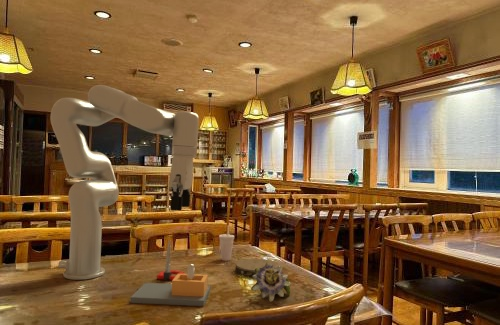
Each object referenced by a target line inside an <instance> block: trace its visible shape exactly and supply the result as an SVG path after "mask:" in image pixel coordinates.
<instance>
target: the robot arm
mask: <svg viewBox="0 0 500 325" xmlns="http://www.w3.org/2000/svg"><path fill="white" fill-rule="evenodd" d="M115 118H118V119H119V120H122V121H123V122H125V123H127V124H128V125H131V126H133V127H136V128H138V129H140V130H142V131H145V132H148V133H150V134H157V135H162V136H166V137H172V143H171V157H172V160H171V166H170V174H169V181H168V187H169V189H170V190H171V197H170V198H171V199H170V210H171V211H178V212H179V211H182V210H183V207H184V208H185V207H186V208H187V207H190V202H191V188H192V185H193V175H194V172H193V171H194V159H196V158H197V155H198V154H197V153H198V152H197V150H198V140H199V124H200V123H199V122H200V117H199V115H198V114H197V113H196V112H191V111H177V112H175V113H173V112H172V111H171V112H170V111H168V110H165V109H161V108H157V107H155V106H152V105H149V104H147V103H144V102H142V101H139V100H138V98H137V97H136V96H134V95H131V94H128V93H126V92H125V91H123V90H120V89H117V88H114V87H112V86H109V85H105V84H97V85H93V86H92V87H90V89H89V90H88V93H87V100H83V99H79V98H75V97H61V98H60V99H58V100H56V102H55V103H54V104H53V106H52V107H51V111H50V124H51V126H52V130H53V133H54V134H55V138H56V140H57V142H58V146H59V150H60V154H61V156H62V160H63V163H64V167H65V170H66V172H67V175H69V177H71V178H75V179H86V180H80V181H77V182H75V183H74V184H73V185H72V186H70V188H69V191H68V203H69V209H70V234H69V235H70V237H69V260H68V261H67V260H59V261H58V263H57V264H58V265H57V268H59V269H65V270H64V271H63V277H64V278H65V279H67V280H71V281H72V280H76V281H77V280H78V281H79V280H81V281H82V280H83V281H84V280H90V279H95V278H99V277H101V276H103V275H104V274H105V272H106V270H105V268H104V267H102V266H101V256H102V255H101V253H102V228H103V225H102V224H103V221H102V215H101V213H100V210H99V208H103V207H108V206H110V207H111V205H114V204H115V203H116V202H117V200H118V199H119V194H120V193H119V192H120V191H119V185H118V182H117V179H116V175H115V172H114V170H113V169H114V168H113V166H112V165H113V164H112V162H111V160H110V159H109V157H108V156H107V155H106V154H104V153H102V152H100V151H92V150H90V148H89V146H88V142H87V139H86V136H85V135H84V133H83V132H82V131H81V129H80V128H79V126H78V125H82V126H89V127H100V126H101V125H103V124H106V123H107V122H109V121H111V120H113V119H115Z"/></svg>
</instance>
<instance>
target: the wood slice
mask: <svg viewBox="0 0 500 325" xmlns="http://www.w3.org/2000/svg"><path fill="white" fill-rule="evenodd" d="M267 261H268V262H270V264H271V265H273V267H272V268H274V267H275V268H277V267H280V264H279V262H276V261H274V260H270V259H266V258H265V259H264V258H244V259H240V260H238V261H236V262H235V273H236V274H237V275H238V276H241V277H245V278H250V279H254V278H253V277H252V276H253V275H254V274H253V272H252V269H253V271H255V268H258V269H260V268H263V267H264V266H265V265H266V262H267ZM257 272H258V271H257ZM255 274H256V272H255Z"/></svg>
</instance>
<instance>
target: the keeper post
mask: <svg viewBox="0 0 500 325" xmlns="http://www.w3.org/2000/svg"><path fill="white" fill-rule="evenodd" d="M186 268H187V271H186V272H187V273H186V274H187V280H194V274H195V265H194V264H193V263H189V264H187V267H186Z"/></svg>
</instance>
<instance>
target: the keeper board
mask: <svg viewBox="0 0 500 325" xmlns="http://www.w3.org/2000/svg"><path fill="white" fill-rule="evenodd" d="M210 293H211V285H208V286H207V290H206V293H205V295H204V297H202V296H180V295H172V283H157V282H145V283H144V284H142V285H141V286H140V287H139V288H138V289H137V290H136V291H135V292H134V293H133V294H132V295H131V296H130V304H131V303H132V304H148V305H149V304H151V305H172V306H175V305H176V306H192V307H193V306H194V307H205V304H206V302H207V299H208V297H209V295H210Z"/></svg>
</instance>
